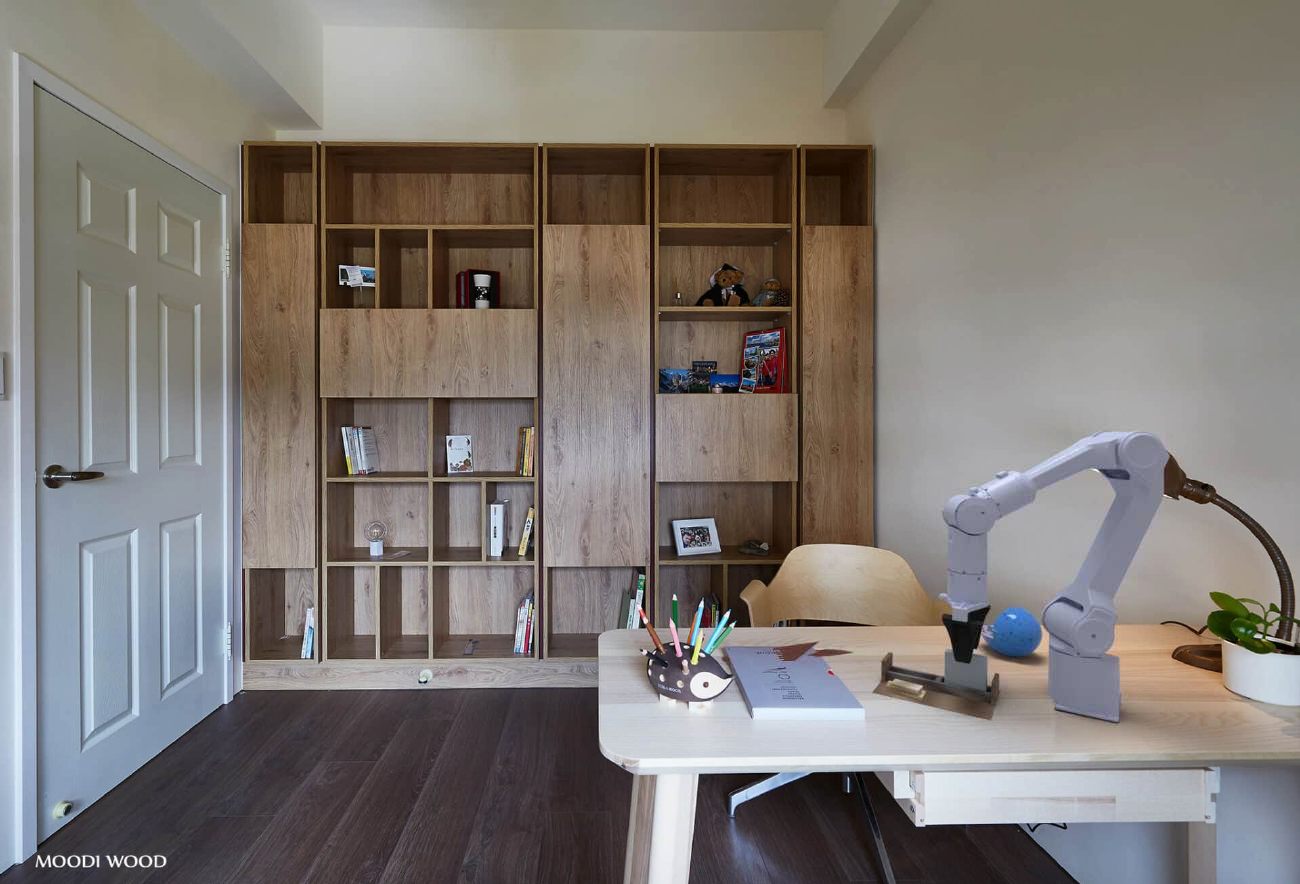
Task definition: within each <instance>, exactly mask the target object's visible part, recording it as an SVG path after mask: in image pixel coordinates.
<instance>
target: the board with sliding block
mask: <svg viewBox="0 0 1300 884" xmlns="http://www.w3.org/2000/svg"><path fill="white" fill-rule="evenodd" d="M893 655H894V653H893V652H892V651H889V652H887V654H886V655H885V656H884V657H883V658H882V659H881V662H880V663H881V672H880V673H881V676H880V682H879V683H878V685H877V686H876V687H875V688H874V689H873V690H872V692H871V693H873V694H877V695H880V696H881V695H882V696H884V697H889V698H894V699H897V700H903V701H907V702H911V703H913V704H919V705H924V706H927V707H932V708H934V709H935V708H936V709H940V710H944V711H949V712H954V713H956V714H957V713H958V714H962V715H965V716H970V717H974V718H979V719H982V720H987V721H992V718H993V715H994V713H995V709H996V706H997V703H998V701H999V697H1000V694H1001V689H1000V673H998V672H994V675H993V676H992V677H993V678H992V681H991V684H990V685H988V684H987V692H985V691H980V690H976V689H971V688H966V687H962V686H957V685H952V684H948V683H944V678H945V675H941V674H940V675H939V674H935V673H930V672H924V671H920V670H916V669H915V670H914V669H910V668H906V667H902V666H897V665H893V661H894V660H893ZM895 679H898V680H902V681H906V682H910V683H914V684H918V685H922V686H923V690H922V691H926V695H925V697H924V698H923V700H922V701H921V700H917V699H913V698H909V697H904V696H900V695H896V694H891V693H887V692H885V689H886V685H887V683H888V681H893V680H895Z"/></svg>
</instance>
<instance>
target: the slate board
mask: <svg viewBox="0 0 1300 884" xmlns="http://www.w3.org/2000/svg"><path fill="white" fill-rule="evenodd" d="M988 657H989V656H987V655H982V654H976V653H973V655H972V659H971V662H970V664H966V663H961V662H956V661H955V658H954V655H953V650H952V649H949V648H946V649H945V650H944V676H945V678H944V683H948V684H952V685H957V686H962V687H966V688H971V689H976V690H980V691H985V692H987V685H988V666H989V664H988Z"/></svg>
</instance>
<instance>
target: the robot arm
mask: <svg viewBox="0 0 1300 884" xmlns="http://www.w3.org/2000/svg"><path fill="white" fill-rule="evenodd" d="M1170 457H1171V456H1170V454H1169V452H1168V451H1167V449H1166V447H1165V446H1164V444H1163V442H1162V440H1161V439H1160V438H1159V437H1158V436H1157V435H1156V434H1154V433H1153V432H1150V431H1146V430H1135V431H1112V430H1101V431H1100V430H1099V431H1097V432H1095V433H1094V434H1092V435H1091V436H1087V437H1084V438H1083V437H1082V438H1080V439H1079V440H1078V441H1077V442H1075V443H1073V444H1072V445H1070V446H1068V447H1067V448H1065V449H1063V450H1061V451H1060V452H1058V453H1057V454H1055V455H1053V456H1051V457H1049V458H1047V459H1046V460H1044V461H1043V462H1040V463H1039V464H1037V465H1035V466H1034V467H1032V468H1030V469H1029V470H1027V471H1025V472H1019V471H1016V470H1010V471H1008V472H1007V470H1006V471H1004V470H1001V471H1000V472H997V473H996V474H995V476H996V478H994V479H992V480H990V481H988V482H986V483H985V484H982V485H980V486H978V487H977V486H973V487H971V488H969V489H968V494H957V495H954V496H953V497H950V498H949V499H948V500H947V503H945V505H944V507H943V510H942V511H941V516H942V519H943V521H944V523H945V524H946V525H947V582H946V583H947V585H946V586H947V587H946V588H947V593H945V592H944V593H943V592H941V593H940V594H939V596H938V598H939V600H942V601H945V602H946V603H947V604H948V605H949V606H950V608H951V609H952V610H951V611H952V613H951V614H949V613H943V614H942V615H941V622H942V623H943V625H944V627H945V629H946V631H947V634H948V637H949V639H950V644H951V650H953V655H954V658H955V661H956V662H961V663H966V664H970V662H971V659H972V655H973V654H974V650H976V651H977V650H978V647H979V645H980V642H981V637H982V635H981V631H982V627H983V626H984V623H985V619H986V617H987V615H988V614H989V612H990V610H991V609H992V608H991V607H992V605H990V604H989V601H990V600H989V598H988V547H989V545H988V533H989V532H990V531H991V529H992V528H993V527H994V525H995V523H996V521H998V520H1000V519H1003V518H1004V517H1007V516H1008V515H1010V514H1012V513H1014V512H1016V511H1019V510H1021V509H1022V508H1024V507H1026V506H1028V505H1030V504H1032V503H1034V502H1035V499H1036V495H1037V494H1038V493H1037V492H1038V491H1040V490H1043V489H1044V488H1046V487H1049V486H1051V485H1054V484H1057V483H1058V482H1060V481H1062V480H1065V479H1067V478H1069V477H1071V476H1074V475H1075V474H1078V473H1080V472H1082V471H1085V470H1089V469H1090V470H1092V469H1093V470H1097V471H1098V472H1099V473H1100V474H1101V475H1102V476H1103V477H1104V478H1105V479H1107V481H1108V482H1109V484H1110V485H1111V487H1112V489H1113V491H1114V492H1115V497H1114V499H1113V501H1112V503H1111V505H1110V507H1109V509H1108V511H1107V512H1106V516H1105V517H1104V519H1103V521H1102V523H1101V526H1100V528H1099V530H1098V532H1097V534H1096V536H1095V537H1094V539H1093V542H1092V544H1091V545H1090V548H1089V550H1088V552H1087V554H1086V556H1085V558H1084V560H1083V561H1082V564H1081V567H1080V568H1079V570H1078V572H1077V574H1076V577H1075V578H1074V580H1073V582H1072V583H1070V584H1068V585H1066V586H1064V587H1063V588H1061V589H1060V590H1058V593H1056V594H1057V595H1056V596H1055V597H1054V599H1052V600H1051V601H1050V602H1049V603H1047V604H1045V606H1044V608H1043V609H1042V611H1041V614H1040V615H1041V616H1040V621H1041V625H1042V627H1043V628H1044V630H1045V631H1046V632H1047V633H1048V671H1047V672H1048V673H1047V674H1048V676H1047V678H1048V679H1047V689H1048V690H1047V696H1048V697H1049V698H1050V699H1051V700H1053V701H1055V703H1054V709H1055V710H1059V711H1063V712H1068V713H1073V714H1078V715H1081V716H1087V717H1092V718H1095V719H1096V718H1097V719H1100V720H1105V721H1110V722H1115V723H1119V722H1120V707H1121V706H1122V693H1120V684H1121V683H1120V682H1121V681H1120V678H1121V676H1120V674H1121V671H1120V666H1121V665H1120V656H1118V655H1115V654H1114V655H1112V654H1109V653H1107V652H1108V651H1109V650H1110V649H1111V648H1112V646H1113V644H1114V642H1115V637H1116V635H1115V634H1116V633H1115V628H1116V623H1117V621H1118V619H1119V614H1118V611H1117V609H1116V607H1115V604H1114V598H1115V596H1116V593H1117V592H1118V589H1119V587H1120V585H1121V583H1122V582H1123V580H1124V578H1125V576H1126V573H1127V571H1128V570H1129V568H1130V566H1131V563H1132V561H1133V560H1134V557H1135V556H1136V553H1137V551H1138V550H1139V547H1140V545H1141V544H1142V542H1143V540H1144V537H1145V535H1146V534H1147V531H1148V530H1149V527H1150V525H1151V523H1152V521H1153V520H1154V517H1155V516H1156V513H1157V511H1158V509H1159V507H1160V506H1161V503H1162V501H1163V498H1164V495H1165V474H1164V473H1165V472H1164V471H1165V468H1166V466H1167V463H1168V461H1169V459H1170Z"/></svg>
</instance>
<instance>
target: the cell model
mask: <svg viewBox="0 0 1300 884" xmlns="http://www.w3.org/2000/svg"><path fill="white" fill-rule="evenodd" d="M981 637H982V639H983V640H984V641H985V643H986V644H987V645H988V646H989V647H991V648H992V649H993V650H995V651H996V652H998V653H1000V654H1001V655H1005V656H1008V657H1014V658H1018V657H1026V656H1028V655H1030V654H1033V652H1035V651H1036V650H1037V649H1038V648H1039V646H1040V644H1041V643H1042V639H1043V630H1042V626H1041V623H1040V621H1039V620H1038V619H1037V617H1035V615H1034V614H1033V613H1032V612H1031V611H1030V610H1028V609H1026V608H1023V607H1019V606H1015V607H1010V608H1007V609H1005V610H1003V611H1002V613H1000V614H998V617H996V619H995V621H994V623H993V624H986V625H985V624H983V627H982V631H981Z"/></svg>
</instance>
